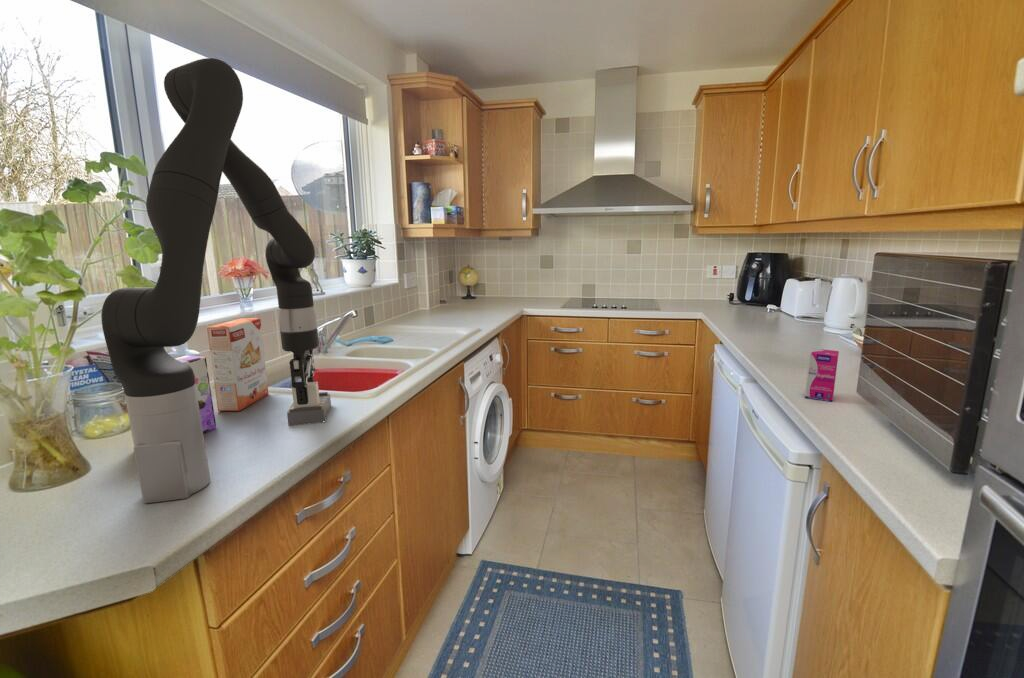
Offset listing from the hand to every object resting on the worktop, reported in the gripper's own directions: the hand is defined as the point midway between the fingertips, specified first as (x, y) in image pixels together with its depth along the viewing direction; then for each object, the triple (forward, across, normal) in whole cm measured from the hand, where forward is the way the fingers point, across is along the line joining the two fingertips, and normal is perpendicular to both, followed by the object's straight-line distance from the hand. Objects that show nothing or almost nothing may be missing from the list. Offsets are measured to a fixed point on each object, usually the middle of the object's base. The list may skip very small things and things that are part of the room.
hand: (306, 398), depth 110 cm
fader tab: (+2, 0, 0) cm, 2 cm away
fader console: (+5, +3, 0) cm, 6 cm away
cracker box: (+5, +18, +18) cm, 26 cm away
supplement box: (+5, -20, -120) cm, 122 cm away
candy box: (+5, -4, +25) cm, 26 cm away
